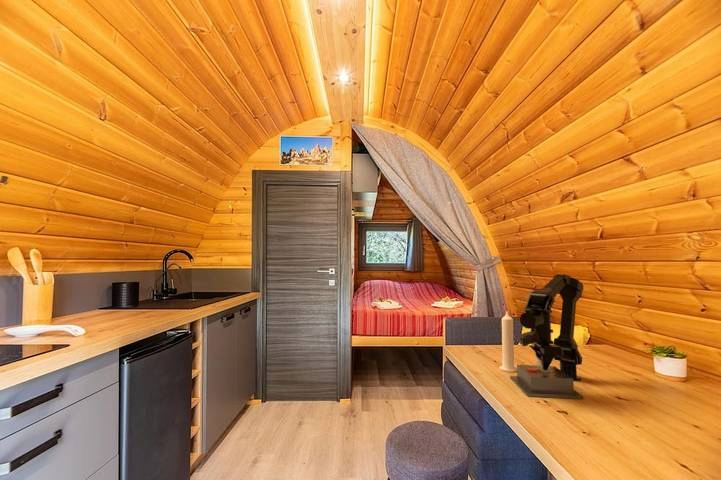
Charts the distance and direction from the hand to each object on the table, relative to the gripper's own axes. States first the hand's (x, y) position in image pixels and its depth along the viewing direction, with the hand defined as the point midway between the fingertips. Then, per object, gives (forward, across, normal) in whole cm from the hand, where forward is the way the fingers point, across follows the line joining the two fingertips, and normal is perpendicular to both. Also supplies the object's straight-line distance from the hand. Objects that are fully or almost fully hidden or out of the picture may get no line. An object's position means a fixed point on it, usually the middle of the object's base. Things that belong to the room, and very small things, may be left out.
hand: (543, 368), depth 123 cm
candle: (+7, -20, -6) cm, 23 cm away
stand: (+7, 0, 0) cm, 7 cm away
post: (+6, 0, 0) cm, 6 cm away
